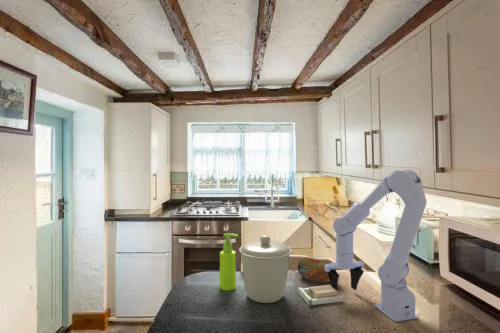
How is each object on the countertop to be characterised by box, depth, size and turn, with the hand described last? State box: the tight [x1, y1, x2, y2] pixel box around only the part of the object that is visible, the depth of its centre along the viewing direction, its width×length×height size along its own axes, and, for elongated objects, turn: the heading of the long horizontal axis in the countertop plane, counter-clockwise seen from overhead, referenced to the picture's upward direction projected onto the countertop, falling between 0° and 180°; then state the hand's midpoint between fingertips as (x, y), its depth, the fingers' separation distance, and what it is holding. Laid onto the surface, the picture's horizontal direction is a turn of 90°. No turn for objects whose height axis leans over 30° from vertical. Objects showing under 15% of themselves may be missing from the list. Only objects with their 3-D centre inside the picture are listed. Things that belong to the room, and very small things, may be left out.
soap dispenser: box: [219, 232, 239, 292], centre depth 106 cm, size 6×7×20 cm
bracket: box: [297, 286, 343, 306], centre depth 98 cm, size 9×12×2 cm
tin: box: [297, 256, 333, 283], centre depth 113 cm, size 15×3×8 cm, turn 62°
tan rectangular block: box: [308, 284, 338, 299], centre depth 98 cm, size 5×8×3 cm, turn 103°
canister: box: [238, 235, 293, 304], centre depth 99 cm, size 18×18×21 cm
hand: (344, 289), depth 101 cm, fingers open, 7 cm apart
